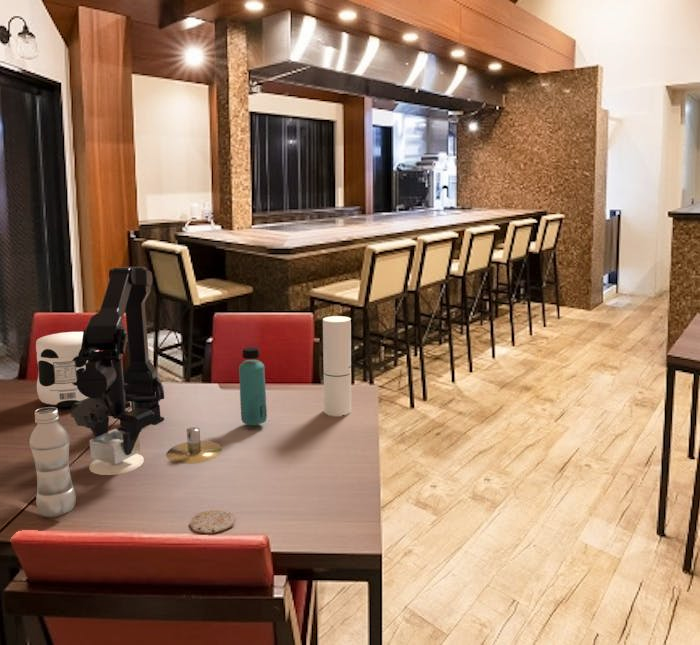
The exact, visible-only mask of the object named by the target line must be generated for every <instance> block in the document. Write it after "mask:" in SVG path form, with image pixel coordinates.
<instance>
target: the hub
mask: <svg viewBox="0 0 700 645" xmlns="http://www.w3.org/2000/svg"><path fill="white" fill-rule="evenodd" d="M200 431H201V430H200V428H199V427H196V426H193V427H189V428H187V429H186V442H182V443H179V444H176V445H174V446H173V447H171V448H170V449H168V451H166V458H167V459H168V460H169V461H172V462H173V463H178V464H187V465H188V464H189V465H190V464H199V463H204V462H207V461H210V460H212V459H215V458H217V457H218V456H219V455H221V453H222V451H223V448H222V446H221V445H220V444H218V443H217V442H214V441H210V440H209V441H208V440H201V432H200Z"/></svg>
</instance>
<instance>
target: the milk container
mask: <svg viewBox="0 0 700 645" xmlns="http://www.w3.org/2000/svg"><path fill="white" fill-rule="evenodd" d="M83 332H84V331H68V332H67V331H66V332H58V333H52V334H47V335H44V336H42V337H39V338H38V339H37V340H36V342H35V351H36V361H37V367H38V374H37V381H36V392H37V395H38V396H37V397H38V398H39V401H41V403H43V404H44V405H47V406H48V407H55V408H57V407H58V408H65V407H66V408H67V407H70V408H71V407H72V405H73V404H74V403H76V402H79V401H81V400H84V399H87V398H89V397H86V396H84V395H83V394H81V392H80V391H79V390H78V388H77V379H78V376H79V375H80V374H81V373H82V372H83V371H84V370H85V369H86V366H85V364H86V363H87V362H88V360H82V361H80V353H81V346H82V339H83ZM91 351H100V350H90V348H89V350H88V352H91Z"/></svg>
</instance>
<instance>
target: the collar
mask: <svg viewBox="0 0 700 645" xmlns="http://www.w3.org/2000/svg"><path fill="white" fill-rule="evenodd" d="M117 429H118V428H114V429H111V430H108V432H107V433H104V434H102V435H100V436H98V437H95V436H94V438H90V440H89V439H88V440H89V449H90V451H89V452H90V458H91V459H92V460H96V459H97V460H101V461H104V462H108V463H112V464H117V463H119V462H121V461H123V460H125V459H127V458H129V457H131V456H133V455H135V454H138V453H139V454H140V452H141V444H140V441H141V440H140V434H139V435H138V438H137V440H136V443H135V445H134V448H133V450H132V453H131V454H130V455H126V453H125V449H124V442H123V435H122V433H121V432H119V431H118V430H117ZM113 439H120V440H121V441H118V442H116V443H114V444H113V443H109V441H110V440H113Z"/></svg>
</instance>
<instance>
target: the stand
mask: <svg viewBox="0 0 700 645" xmlns="http://www.w3.org/2000/svg"><path fill="white" fill-rule="evenodd" d="M118 441H121V440H120V439H113V440H110V441H109V443H113V444H114V443H116V442H118ZM144 461H145V460H144V457H143V455H141V454H140V453H139V454H138V453H137V454H135V455H133V456H131V457H129V458H127V459H125V460H123V461H121V462H119V463H117V464H112V463H108V462H104V461H101V460H97V459H94V460H93V461H92V462H91V463H90V464H89V466H88V467H89V468H88V469H89V471H90V472H92V473H93V474H96V475H102V476H113V475H121V474H125V473H129V472H131V471H134V470H136V469H138V468H139V467H140V466H142V465H143V463H144Z"/></svg>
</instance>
